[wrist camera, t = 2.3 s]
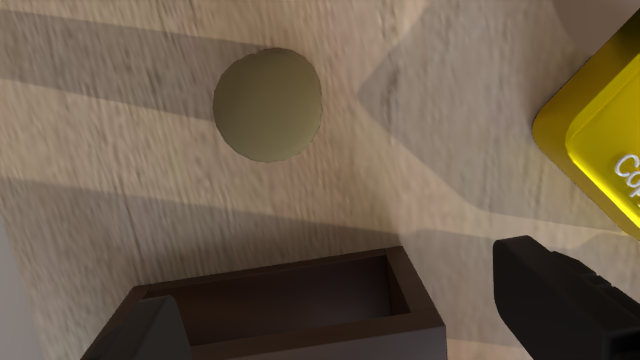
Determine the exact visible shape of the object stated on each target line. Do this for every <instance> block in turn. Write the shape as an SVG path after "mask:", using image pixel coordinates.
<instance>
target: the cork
mask: <svg viewBox="0 0 640 360" xmlns="http://www.w3.org/2000/svg"><path fill="white" fill-rule="evenodd" d="M213 113H214V118H215V122H216V127H217V128H218V130H219V132H220V134H221V136H222V137H223V139H224V141H225V142H226V143H227V144H228V145H229V146H230V147H231V148H232V149H233V150H235V151H236V152H237V153H238V154H240V155H242V156H244V157H246V158H248V159H251V160H254V161H260V162H266V163H269V162H276V161H283V160H286V159H288V158H291V157H293V156H295V155H297V154H299V153H300V152H301V151H302V150H303V149H305V148H306V147H307V146H308V145H309V144H310V143H311V142H312V140H313V138H314V136H315V134H316V133H317V131H318V129H319V127H320V121H321V116H322V103H321V87H320V80H319V78H318V76H317V73H316V71H315V69H314V67H313V66H312V65H311V64H310V63H309V62H308V61H307V60H306V59H305V57H303V56H301V55H299V54H298V53H296V52H294V51H292V50H288V49H283V48H273V49H265V50H263V51H261V52H259V53H257V54H250V55H248V56H246V57H244V58H242V59H240V60H238V61H236V62H234V63H233V64H232V65H231V66H230V67H229V68H228V69H227V70H226V71H225V72H224V73H223V74H222V76H221V78H220V80H219V82H218V84H217V86H216V89H215V91H214V99H213Z"/></svg>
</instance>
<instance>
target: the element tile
mask: <svg viewBox="0 0 640 360" xmlns="http://www.w3.org/2000/svg"><path fill="white" fill-rule="evenodd" d="M532 134H533V137H534V140H535V143H536V144H537V146H538V147H539V148H540V150H541V151H542V152H543V153H544V154H545V155H546V156H548V157H549V158H550V159H551V160H552V161H553V162H554V163H555V164H556V165H557V166H558V167H559V168H560V169H561V170H562V171H563V172H564V173H565V174H566V175H567V176H568V177H569V178H570V179H571V180H572V181H573V182H574V183H575V184H576V185H577V186H578V187H579V188H580V189H581V190H582V191H583V192H584V193H585V194H586V195H587V196H588V197H589V198H590V199H591V200H592V201H593V202H594V203H595V204H596V205H597V206H598V207H599V208H600V209H601V210H603V211H604V212H605V213H606V214H607V215H608V216H609V217H610V218H611V219H612V220H613V221H614V222H615V223H616V224H617V225H618V226H619V227H620V228H621V229H622V230H623V231H624V232H625V233H627V234H629V235H630V236H632V237H634V238H636V239H638V240H640V8H639V10H638V11H637V12H636V13H635V14H634V15H633V16H632V17H631V18H630V19H629V20H628V21H627V22H626V23H625V24H624V25H623V26H622V27H621V28H620V29H619V30H618V31H617V32H616V33H615V34H614V35H613V36H612V37H611V38H610V39H609V40H608V41H607V42H606V43H605V44H604V45H603V46H602V47H601V48H600V49H599V50H598V51H597V52H596V53H595V54H594V55H593V57H592V58H591V59H590V60H589V61H588V62H587V63H586V64H585V65H584V66H583V67H582V68H581V69H580V70H579V71H578V72H577V73H576V74H575V75H574V76H573V77H572V78H571V79H570V80H569V81H568V82H567V83H566V84H565V85H564V86H563V87H562V88H561V89H560V90H559V91H558V92H557V93H556V94H555V95H554V96H553V97H552V98H551V99H550V100H549V101H548V103H547V104H546V105H545V106H544V107H543V108H542V109H541V110H540V112H539V113H538V114H537V116H536V118H535V120H534V123H533V128H532Z"/></svg>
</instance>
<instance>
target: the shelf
mask: <svg viewBox="0 0 640 360" xmlns="http://www.w3.org/2000/svg"><path fill="white" fill-rule="evenodd" d="M167 295H171V296H173V297H174V299H175V300H176V303H177V306H178V309H179V312H180V315H181V318H182V322H183V325H184V328H185V331H186V334H187V338H188V341H189V344H190V348H191V355H192V360H448V359H447V342H446V326H445V324H444V322H443V320H442V318H441V316H440V315H439V313H438V311H437V309H436V307H435V305H434V303H433V302H432V300H431V298H430V296H429V294H428V292H427V290H426V289H425V287H424V285H423V283H422V281H421V279H420V277H419V276H418V274H417V272H416V270H415V268H414V266H413V264H412V263H411V261H410V259H409V257H408V255H407V253H406V251H405V250H404V248H403V246H398V247H391V248H385V249H378V250H371V251H365V252H358V253H351V254H345V255H338V256H332V257H325V258H319V259H312V260H306V261H299V262H293V263H286V264H280V265H273V266H267V267H260V268H254V269H247V270H241V271H234V272H228V273H221V274H215V275H208V276H201V277H195V278H188V279H182V280H175V281H169V282H162V283H156V284H153V285H152V284H150V285H143V286H137V287H133V288H132V290H131V291H130V292H129V294H128V295H127V296H126V298H125V299H124V300H123V302H122V303H121V304H120V306H119V307H118V309H117V310H116V311H115V313H114V314H113V315H112V317H111V318H110V319H109V321H108V322H107V324H106V325H105V326H104V328H103V329H102V330H101V332H100V333H99V334H98V336H97V337H96V339H95V340H94V341H93V343H92V344H91V345H90V347H89V348H88V349H87V351H86V352H85V354H84V355H83V356H82V358H81V359H80V360H86V359H87V357H88V356H89V354H90V353H91V351H92V350H93V349H94V347H95V346H96V344H97V343H98V341H100V340H101V339H102V338H103V337H104V336H105V335H107V334H108V333H109V332H110V331H111V330H112V329H114V328H115V327H116V326H117V325H120V324H123V323H124V321H125V320H126V318H127V317H128V315H129V313H130V312H131V310H132V309H133V307H134V306H135V304H136V303H137V302H138V301H139V300H144V299H150V298H156V297H162V296H167Z"/></svg>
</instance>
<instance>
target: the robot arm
mask: <svg viewBox="0 0 640 360" xmlns="http://www.w3.org/2000/svg"><path fill="white" fill-rule="evenodd" d="M493 281H494V299H495V304H496V307H497V310H498V312H499V315H500V317H501V318H502V320H503V321H504V323H505V324H506V325H507V327H508V328H509V329H510V330H511V332H512V333H513V334H514V335H515V337H516V338H517V339H518V340H519V342H520V343H521V344H522V346H523V347H524V348H525V349H526V351H527V352H528V353H529V354H530V356H531V357H532V358H533V359H534V360H640V304H639V303H637V302H636V301H635V300H633V299H632V298H630V297H629V296H628V295H626V294H625V293H623V292H622V291H621V290H619V289H618V288H616V287H612V286H611V283H609V282H608V281H607V280H605V279H604V278H602V277H601V276H600V275H599V276H597V275H596V273H595V272H594V271H593V270H591V269H590V268H588V267H587V266H586V265H584V264H583V263H581V262H580V261H579V260H576V259H574V258H571V257H569V256H566V255H564V254H561V253H558V252H556V251H553V252H550V251H549V250H547V249H546V248H545V247H544V246H542V245H541V244H540V243H538V242H537V241H536V240H534V239H533V238H532V237H530V236H528V235H525V236H519V237H513V238H507V239H501V240H496V241H495V242H494V244H493ZM86 360H192V355H191V348H190V344H189V341H188V338H187V334H186V331H185V328H184V325H183V322H182V318H181V315H180V312H179V309H178V306H177V303H176V300H175V299H174V297H173V296H171V295H167V296H162V297H156V298H150V299H144V300H139V301H138V302H137V303H136V304H135V306H134V307H133V309H132V310H131V312H130V313H129V315H128V317H127V318H126V320H125V321H124V323H123V324H120V325H117V326H116V327H115V328H114V329H112V330H111V331H110V332H109V333H108V334H107V335H105V336H104V337H103V338H102V339H101V340H100V341H98V343H97V344H96V346H95V347H94V349H93V350H92V351H91V353H90V354H89V356H88V357H87V359H86Z"/></svg>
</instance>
